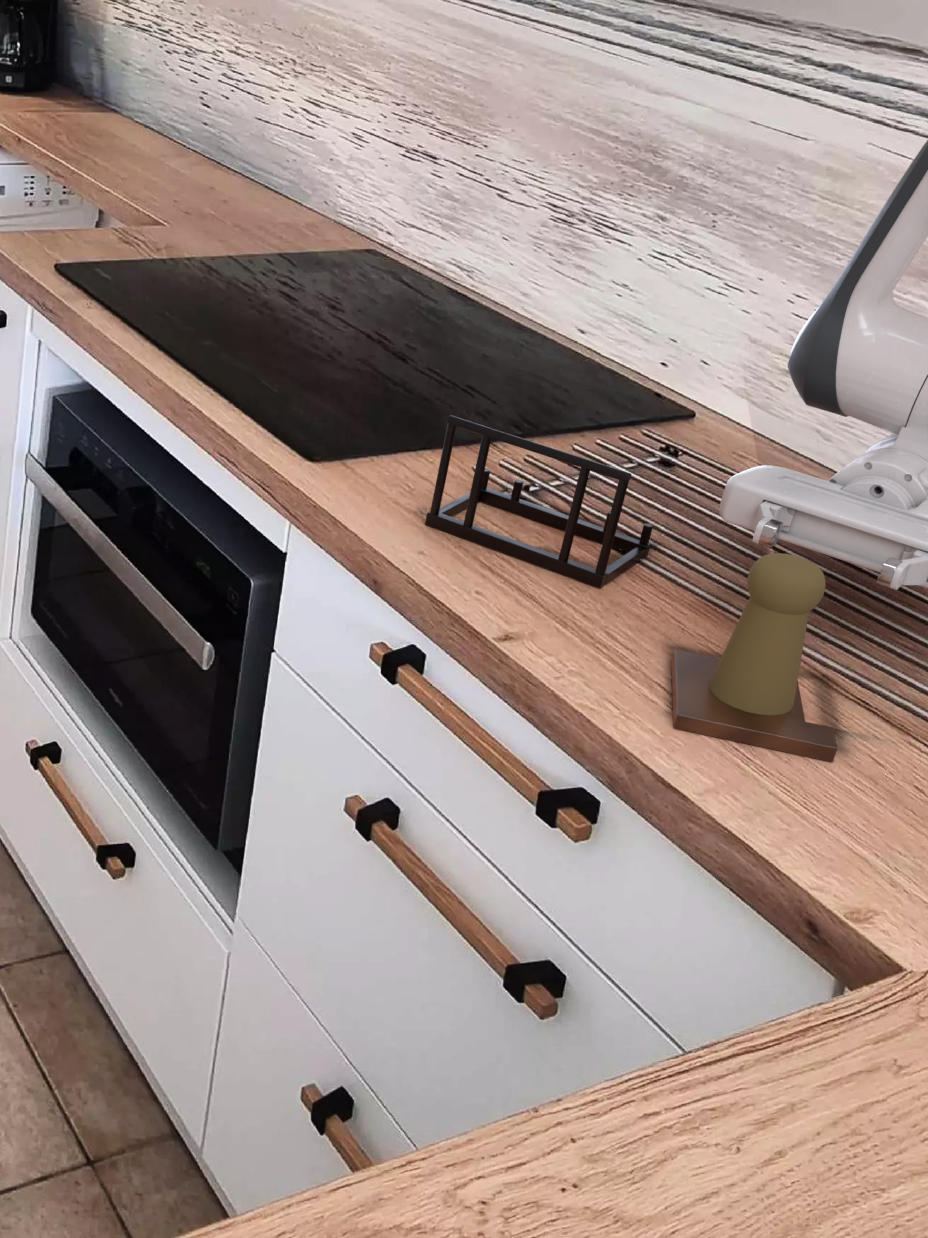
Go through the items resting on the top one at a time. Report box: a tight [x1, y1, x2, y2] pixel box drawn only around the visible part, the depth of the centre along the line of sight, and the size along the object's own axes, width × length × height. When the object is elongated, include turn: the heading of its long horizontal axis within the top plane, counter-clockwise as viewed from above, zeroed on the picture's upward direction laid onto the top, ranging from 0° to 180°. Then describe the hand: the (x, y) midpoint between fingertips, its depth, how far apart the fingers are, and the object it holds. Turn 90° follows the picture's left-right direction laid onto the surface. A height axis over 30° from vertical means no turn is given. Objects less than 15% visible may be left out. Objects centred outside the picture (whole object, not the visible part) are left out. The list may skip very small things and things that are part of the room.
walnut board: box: [670, 649, 838, 763], centre depth 124 cm, size 11×11×1 cm
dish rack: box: [424, 415, 654, 589], centre depth 147 cm, size 10×17×10 cm, turn 51°
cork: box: [709, 552, 826, 715], centre depth 122 cm, size 6×6×11 cm
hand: (824, 556), depth 126 cm, fingers open, 8 cm apart
